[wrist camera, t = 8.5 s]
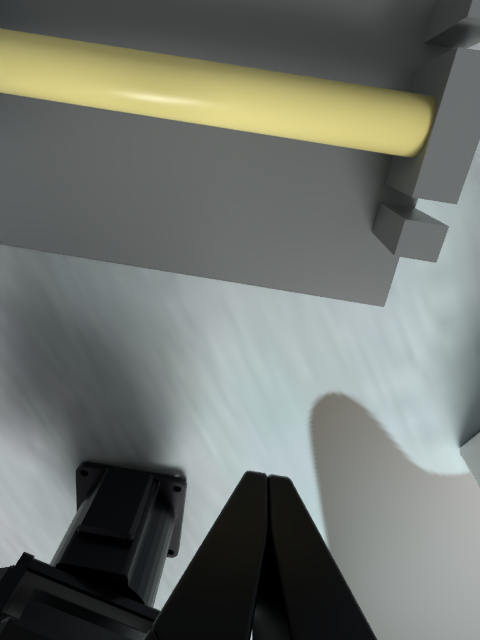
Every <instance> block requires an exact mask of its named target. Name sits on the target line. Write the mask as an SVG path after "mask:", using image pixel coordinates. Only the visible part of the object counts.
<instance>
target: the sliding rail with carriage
mask: <svg viewBox="0 0 480 640" xmlns="http://www.w3.org/2000/svg"><path fill="white" fill-rule="evenodd" d="M477 43H480V0H0V244H2V245H8V246H14V247H20V248H27V249H33V250H39V251H45V252H51V253H57V254H63V255H69V256H76V257H82V258H88V259H94V260H100V261H106V262H112V263H118V264H124V265H131V266H137V267H143V268H149V269H155V270H161V271H167V272H173V273H180V274H186V275H192V276H198V277H204V278H210V279H216V280H222V281H229V282H235V283H241V284H247V285H253V286H259V287H265V288H271V289H278V290H284V291H290V292H296V293H302V294H308V295H314V296H320V297H326V298H333V299H339V300H345V301H351V302H357V303H363V304H369V305H375V306H382V307H384V305H385V302H386V299H387V296H388V293H389V289H390V286H391V283H392V280H393V277H394V273H395V270H396V267H397V264H398V261H399V257H405V258H411V259H418V260H424V261H430V262H437V259H438V256H439V253H440V250H441V247H442V245H443V242H444V239H445V236H446V233H447V230H448V228H449V226H447V225H445V224H443V223H441V222H440V221H438V220H436V219H434V218H432V217H430V216H429V215H427V214H425V213H423V212H421V211H419V210H418V209H416V208H415V206H416V203H417V200H418V198H421V199H427V200H433V201H440V202H446V203H452V204H457V202H458V199H459V196H460V193H461V191H462V188H463V185H464V182H465V179H466V176H467V174H468V171H469V168H470V165H471V162H472V159H473V156H474V154H475V151H476V148H477V145H478V142H479V139H480V51H479V50H472V49H466V48H469V47H471V46H473V45H475V44H477Z"/></svg>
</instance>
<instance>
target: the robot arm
mask: <svg viewBox="0 0 480 640" xmlns="http://www.w3.org/2000/svg"><path fill="white" fill-rule="evenodd" d="M85 470H86V471H85ZM177 486H180V487H177ZM186 489H187V483H186V481H185V480H184V479H182V478H179V477H174V476H168V475H162V474H156V473H150V472H144V471H138V470H133V469H127V468H121V467H115V466H109V465H103V464H97V463H91V462H82V463H80V464H79V466H78V468H77V470H76V492H77V513H76V515H75V517H74V519H73V521H72V523H71V525H70V527H69V528H68V530H67V532H66V534H65V536H64V538H63V540H62V542H61V544H60V546H59V547H58V549H57V551H56V553H55V555H54V557H53V559H52V561H51V563H50V565H49V564H47V563H44V562H42V561H39V560H37V559H35V558H34V556H33V555H31V554H29V553H26V552H24V553H23V554H22V556H21V557H20V559H19V560H18V562H17V564H16V565H15V566H14V565H13V566H10V567H5V568H0V640H250V638H251V632H252V639H253V640H377V638H376V636H375V635H374V633H373V631H372V629H371V627H370V625H369V623H368V622H367V620H366V618H365V616H364V614H363V612H362V610H361V609H360V607H359V605H358V603H357V601H356V599H355V598H354V596H353V594H352V592H351V590H350V588H349V586H348V585H347V583H346V581H345V579H344V577H343V575H342V573H341V572H340V570H339V568H338V566H337V564H336V562H335V560H334V559H333V557H332V555H331V553H330V551H329V549H328V547H327V546H326V544H325V542H324V540H323V538H322V536H321V535H320V533H319V531H318V529H317V527H316V525H315V523H314V522H313V520H312V518H311V516H310V514H309V512H308V510H307V509H306V507H305V505H304V503H303V501H302V499H301V497H300V496H299V494H298V492H297V490H296V488H295V486H294V484H293V483H292V481H291V479H290V478H288V477H284V476H278V475H272V474H271V475H269V476H268V477H267V475H266V474H265V473H261V472H255V471H246V472H245V473H244V475H243V477H242V478H241V480H240V482H239V483H238V485H237V487H236V488H235V490H234V491H233V493H232V495H231V496H230V498H229V500H228V501H227V503H226V505H225V506H224V508H223V510H222V511H221V513H220V514H219V516H218V518H217V519H216V521H215V523H214V524H213V526H212V528H211V529H210V531H209V533H208V534H207V536H206V538H205V539H204V541H203V542H202V544H201V546H200V547H199V549H198V551H197V552H196V554H195V556H194V557H193V559H192V561H191V562H190V564H189V566H188V567H187V569H186V570H185V572H184V574H183V575H182V577H181V579H180V580H179V582H178V584H177V585H176V587H175V589H174V590H173V592H172V594H171V595H170V597H169V598H168V600H167V602H166V603H165V605H164V607H163V608H162V610H161V611H160V610H157V609H155V608H153V606H154V602H155V598H156V594H157V590H158V586H159V583H160V579H161V575H162V571H163V567H164V563H165V560H166V557H171V558H173V557H176V556H177V555H178V551H179V546H180V538H181V530H182V521H183V513H184V505H185V497H186Z"/></svg>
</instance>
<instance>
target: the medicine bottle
mask: <svg viewBox="0 0 480 640" xmlns="http://www.w3.org/2000/svg"><path fill="white" fill-rule="evenodd" d="M460 455H461V456H462V458H463V460H464V462H465V463H466V465H467V467H468V469H469V470H470V472H471V474H472V476H473V477H474V479H475V481H476V483H477V484H478V486H479V487H480V432H479V433H478V434H477V435H475V436H474V437H473V438H472V439H470V440H469V441H468V442H467V443H466V444H464V445H463V446H462V447H461V448H460Z"/></svg>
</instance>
